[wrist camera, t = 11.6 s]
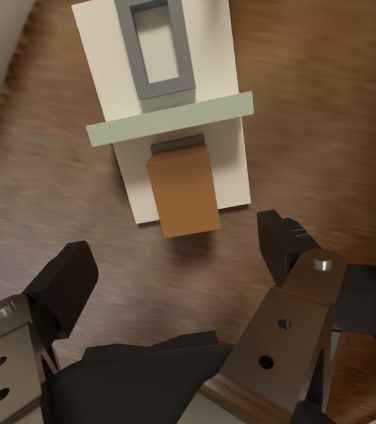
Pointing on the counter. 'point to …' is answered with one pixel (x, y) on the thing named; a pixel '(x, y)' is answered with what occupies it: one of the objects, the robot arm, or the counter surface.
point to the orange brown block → (184, 190)
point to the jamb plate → (166, 90)
